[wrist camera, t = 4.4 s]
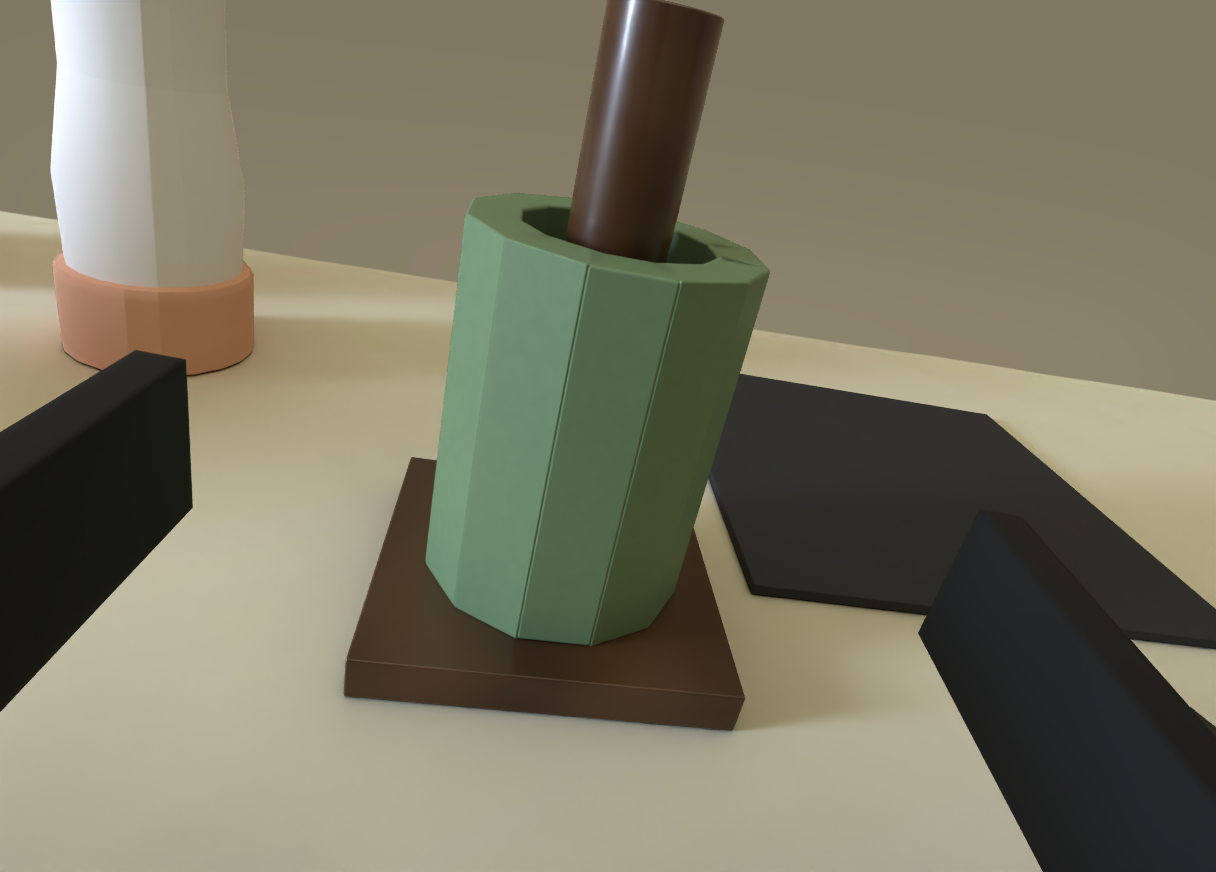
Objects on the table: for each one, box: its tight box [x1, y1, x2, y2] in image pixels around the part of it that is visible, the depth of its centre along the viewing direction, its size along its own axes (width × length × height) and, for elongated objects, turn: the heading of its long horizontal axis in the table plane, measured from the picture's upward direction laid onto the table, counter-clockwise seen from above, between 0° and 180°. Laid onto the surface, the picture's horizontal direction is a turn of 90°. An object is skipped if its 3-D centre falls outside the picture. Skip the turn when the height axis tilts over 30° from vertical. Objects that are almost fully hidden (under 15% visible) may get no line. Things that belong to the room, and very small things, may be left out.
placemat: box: [709, 374, 1216, 648], centre depth 36 cm, size 20×20×1 cm
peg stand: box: [344, 0, 745, 730], centre depth 20 cm, size 10×10×16 cm
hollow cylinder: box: [425, 193, 770, 646], centre depth 21 cm, size 7×7×10 cm
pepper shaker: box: [50, 0, 254, 375], centre depth 29 cm, size 7×7×19 cm
